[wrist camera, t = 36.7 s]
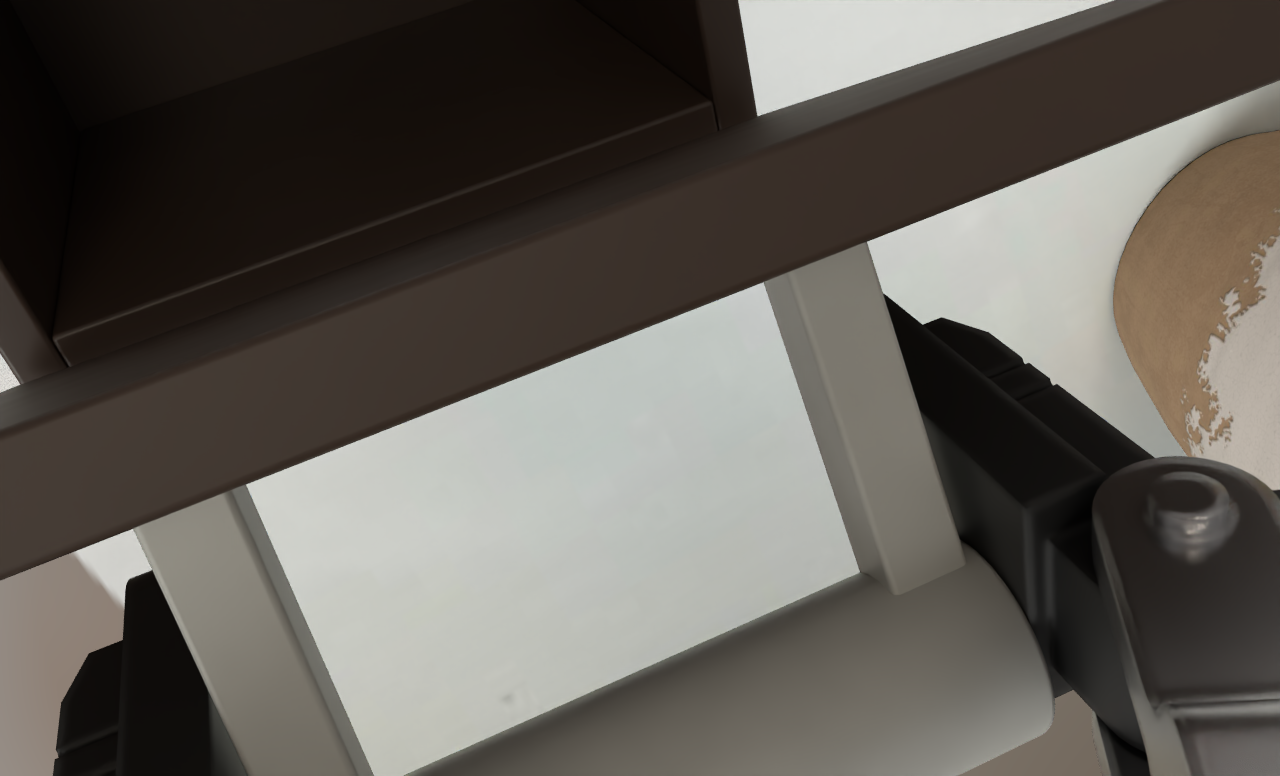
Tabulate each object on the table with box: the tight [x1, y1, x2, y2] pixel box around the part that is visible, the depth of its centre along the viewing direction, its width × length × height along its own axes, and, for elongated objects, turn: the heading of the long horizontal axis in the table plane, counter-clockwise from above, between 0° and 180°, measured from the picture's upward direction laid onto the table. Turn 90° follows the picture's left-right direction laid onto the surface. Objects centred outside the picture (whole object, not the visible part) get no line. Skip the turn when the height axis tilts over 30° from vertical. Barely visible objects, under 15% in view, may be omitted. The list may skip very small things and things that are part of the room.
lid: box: [0, 0, 1280, 776], centre depth 14 cm, size 14×14×6 cm
